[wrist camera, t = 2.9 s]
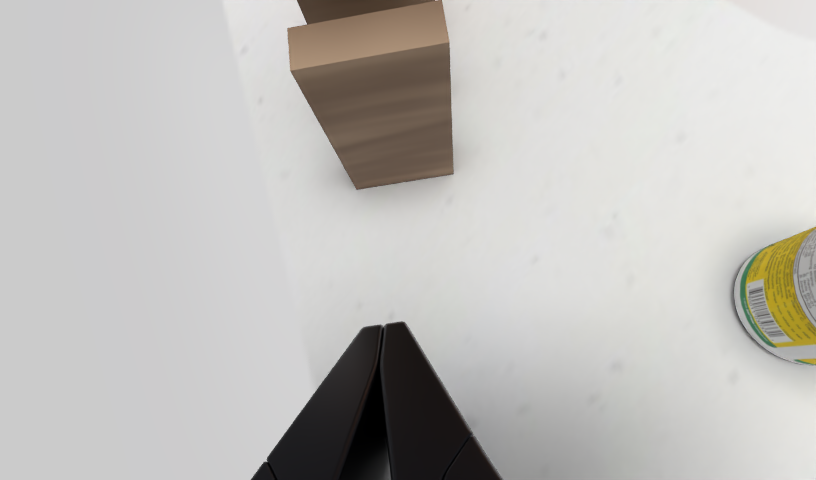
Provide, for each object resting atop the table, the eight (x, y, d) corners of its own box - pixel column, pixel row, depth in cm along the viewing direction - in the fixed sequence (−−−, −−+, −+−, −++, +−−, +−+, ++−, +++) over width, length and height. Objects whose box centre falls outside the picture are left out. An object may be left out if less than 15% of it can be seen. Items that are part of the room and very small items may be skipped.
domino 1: (441, 105, 25) (431, -60, 16) (349, 120, 26) (283, -31, 16) (437, 79, 26) (424, -96, 16) (346, 95, 26) (281, -68, 16)
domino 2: (453, 174, 24) (449, 42, 14) (356, 189, 24) (290, 70, 15) (448, 145, 25) (441, -1, 15) (353, 161, 25) (287, 28, 15)
